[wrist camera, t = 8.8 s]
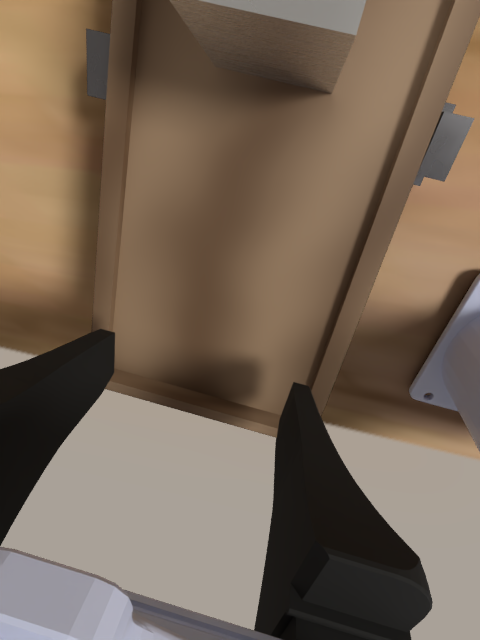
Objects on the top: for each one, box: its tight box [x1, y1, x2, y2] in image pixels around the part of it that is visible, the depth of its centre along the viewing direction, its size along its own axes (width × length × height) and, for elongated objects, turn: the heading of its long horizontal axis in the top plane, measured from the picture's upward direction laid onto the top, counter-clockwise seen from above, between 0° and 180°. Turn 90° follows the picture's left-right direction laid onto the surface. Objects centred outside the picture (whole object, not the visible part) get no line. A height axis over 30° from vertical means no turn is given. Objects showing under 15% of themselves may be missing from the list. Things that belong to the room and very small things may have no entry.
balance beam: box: [92, 0, 480, 438], centre depth 13 cm, size 11×18×2 cm, turn 168°
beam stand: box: [86, 29, 474, 186], centre depth 15 cm, size 14×17×3 cm
